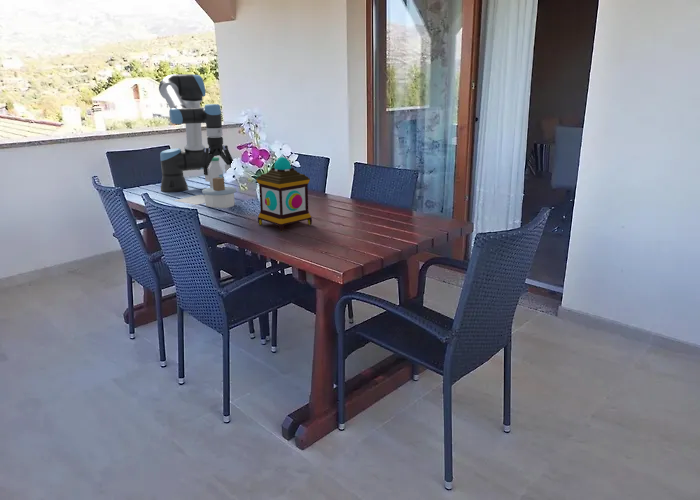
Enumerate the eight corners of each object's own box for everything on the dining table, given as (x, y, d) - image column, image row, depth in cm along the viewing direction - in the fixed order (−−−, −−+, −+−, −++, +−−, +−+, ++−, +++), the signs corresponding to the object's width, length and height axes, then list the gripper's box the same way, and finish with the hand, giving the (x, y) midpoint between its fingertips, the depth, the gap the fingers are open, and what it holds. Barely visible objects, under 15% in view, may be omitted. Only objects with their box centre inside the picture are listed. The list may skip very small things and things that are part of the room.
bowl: (200, 206, 258) (199, 192, 256) (221, 200, 269) (220, 188, 267) (219, 209, 250) (218, 195, 248) (240, 204, 262) (239, 191, 259)
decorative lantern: (253, 224, 225) (249, 156, 215) (288, 216, 238) (286, 152, 228) (280, 233, 211) (277, 161, 202) (316, 224, 224) (315, 157, 215)
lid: (194, 192, 255) (193, 179, 253) (220, 187, 269) (219, 174, 266) (218, 196, 246) (217, 182, 244) (243, 190, 260) (242, 177, 258)
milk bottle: (216, 194, 284) (213, 159, 278) (207, 192, 289) (204, 157, 282) (227, 192, 290) (224, 157, 284) (218, 190, 294) (215, 156, 288)
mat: (173, 201, 267) (173, 200, 267) (200, 195, 282) (200, 194, 282) (196, 205, 258) (196, 204, 258) (222, 199, 272) (222, 198, 272)
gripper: (200, 139, 237) (204, 184, 244) (238, 135, 257) (241, 176, 263) (189, 138, 241) (193, 182, 248) (228, 134, 261) (231, 175, 267)
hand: (218, 179), depth 255 cm, fingers open, 13 cm apart
